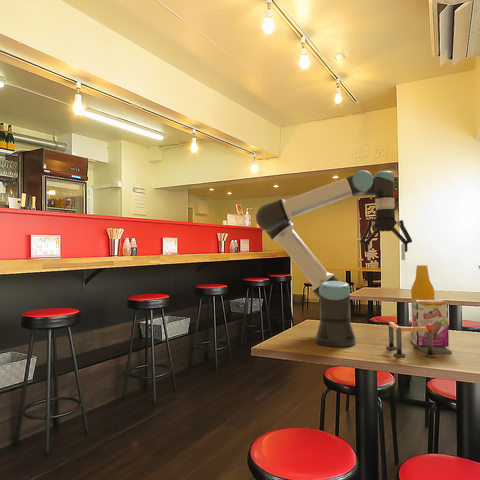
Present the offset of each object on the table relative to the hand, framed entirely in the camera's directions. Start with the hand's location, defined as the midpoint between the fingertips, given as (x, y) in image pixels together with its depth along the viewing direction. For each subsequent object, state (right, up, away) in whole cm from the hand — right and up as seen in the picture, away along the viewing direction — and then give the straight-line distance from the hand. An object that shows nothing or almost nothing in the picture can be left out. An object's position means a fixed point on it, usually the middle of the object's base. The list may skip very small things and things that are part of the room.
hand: (386, 260), depth 162 cm
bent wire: (-1, -31, -25) cm, 40 cm away
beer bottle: (+19, -32, +8) cm, 38 cm away
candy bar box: (+9, -30, -19) cm, 37 cm away
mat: (+9, -31, -19) cm, 38 cm away
